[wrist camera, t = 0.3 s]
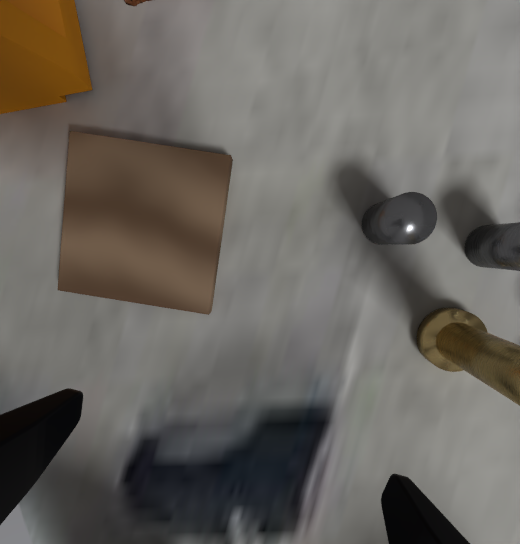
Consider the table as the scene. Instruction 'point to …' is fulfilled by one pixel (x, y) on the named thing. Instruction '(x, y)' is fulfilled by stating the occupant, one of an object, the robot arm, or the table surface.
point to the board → (143, 222)
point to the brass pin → (470, 350)
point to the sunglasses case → (134, 2)
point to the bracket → (40, 54)
